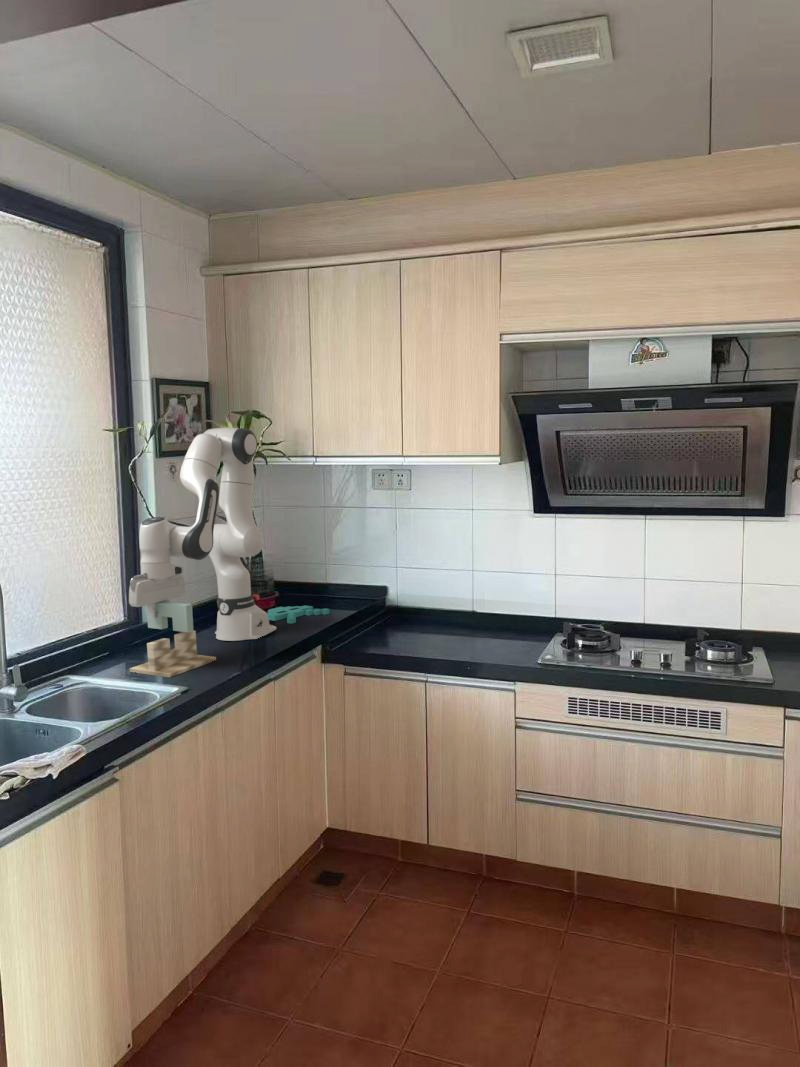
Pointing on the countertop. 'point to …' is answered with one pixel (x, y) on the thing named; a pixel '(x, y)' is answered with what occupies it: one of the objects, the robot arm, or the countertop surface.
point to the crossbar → (177, 611)
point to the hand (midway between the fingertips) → (158, 616)
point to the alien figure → (293, 612)
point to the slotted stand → (172, 656)
